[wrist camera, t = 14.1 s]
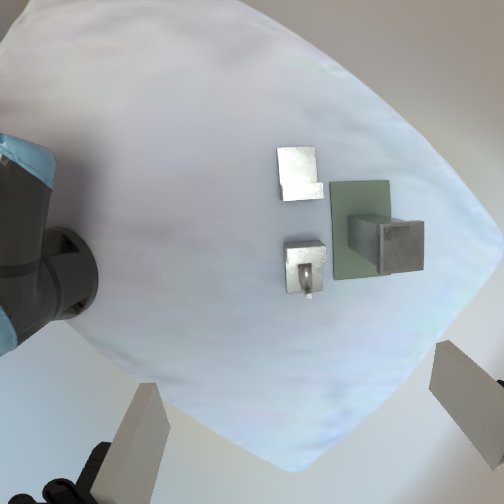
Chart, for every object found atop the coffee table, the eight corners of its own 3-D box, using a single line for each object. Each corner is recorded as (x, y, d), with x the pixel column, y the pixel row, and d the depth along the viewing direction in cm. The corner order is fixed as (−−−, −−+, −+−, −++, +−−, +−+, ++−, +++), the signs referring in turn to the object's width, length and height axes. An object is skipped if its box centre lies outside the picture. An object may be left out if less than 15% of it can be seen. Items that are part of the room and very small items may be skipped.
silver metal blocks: (286, 290, 47) (290, 303, 41) (276, 149, 43) (279, 143, 38) (320, 287, 47) (328, 300, 41) (312, 147, 43) (320, 141, 37)
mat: (333, 279, 47) (334, 280, 46) (329, 182, 44) (330, 182, 43) (390, 274, 46) (390, 274, 46) (388, 180, 44) (389, 180, 43)
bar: (346, 249, 45) (380, 274, 31) (344, 213, 44) (380, 223, 30) (379, 246, 45) (423, 270, 31) (378, 211, 44) (424, 221, 30)
